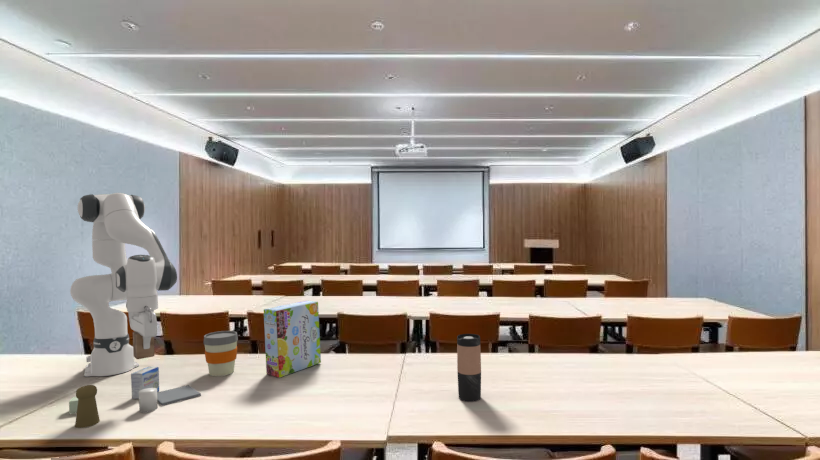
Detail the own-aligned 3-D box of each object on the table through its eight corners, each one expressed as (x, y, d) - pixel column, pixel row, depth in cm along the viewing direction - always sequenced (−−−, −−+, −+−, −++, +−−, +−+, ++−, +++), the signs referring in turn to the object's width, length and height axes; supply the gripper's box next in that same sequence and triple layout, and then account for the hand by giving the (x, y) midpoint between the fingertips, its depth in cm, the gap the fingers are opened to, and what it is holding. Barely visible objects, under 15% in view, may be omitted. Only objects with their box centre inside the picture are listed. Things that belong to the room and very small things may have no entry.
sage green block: (72, 409, 149) (72, 397, 149) (95, 406, 151) (94, 394, 151) (69, 414, 145) (68, 401, 145) (92, 411, 148) (91, 398, 148)
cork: (82, 419, 141) (81, 383, 141) (104, 418, 141) (103, 382, 141) (70, 428, 135) (68, 390, 134) (92, 427, 135) (91, 389, 135)
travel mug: (483, 394, 155) (482, 334, 154) (479, 403, 147) (478, 339, 147) (460, 392, 157) (459, 332, 157) (455, 400, 150) (454, 338, 150)
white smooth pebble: (137, 409, 148) (136, 390, 148) (154, 405, 151) (154, 386, 151) (141, 413, 144) (141, 394, 144) (159, 409, 148) (159, 390, 148)
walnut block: (133, 356, 154) (132, 332, 154) (150, 353, 157) (149, 329, 157) (137, 359, 150) (136, 334, 150) (154, 356, 153) (153, 331, 153)
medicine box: (142, 399, 156) (142, 373, 156) (131, 398, 157) (130, 373, 157) (159, 391, 164) (159, 366, 164) (148, 390, 165) (148, 366, 165)
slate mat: (151, 396, 159) (151, 393, 159) (188, 387, 168) (188, 384, 167) (162, 405, 151) (162, 403, 151) (200, 395, 159) (200, 393, 159)
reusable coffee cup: (205, 379, 175) (204, 339, 175) (203, 370, 186) (202, 333, 186) (240, 374, 181) (239, 335, 181) (236, 365, 192) (235, 329, 192)
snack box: (307, 360, 198) (305, 299, 197) (321, 363, 193) (320, 301, 192) (264, 374, 180) (262, 307, 180) (278, 378, 175) (277, 310, 175)
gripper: (162, 307, 148) (163, 350, 148) (145, 300, 163) (146, 339, 163) (139, 309, 144) (140, 354, 144) (124, 302, 159) (125, 343, 159)
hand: (143, 346), depth 154 cm, fingers closed on walnut block, 5 cm apart
